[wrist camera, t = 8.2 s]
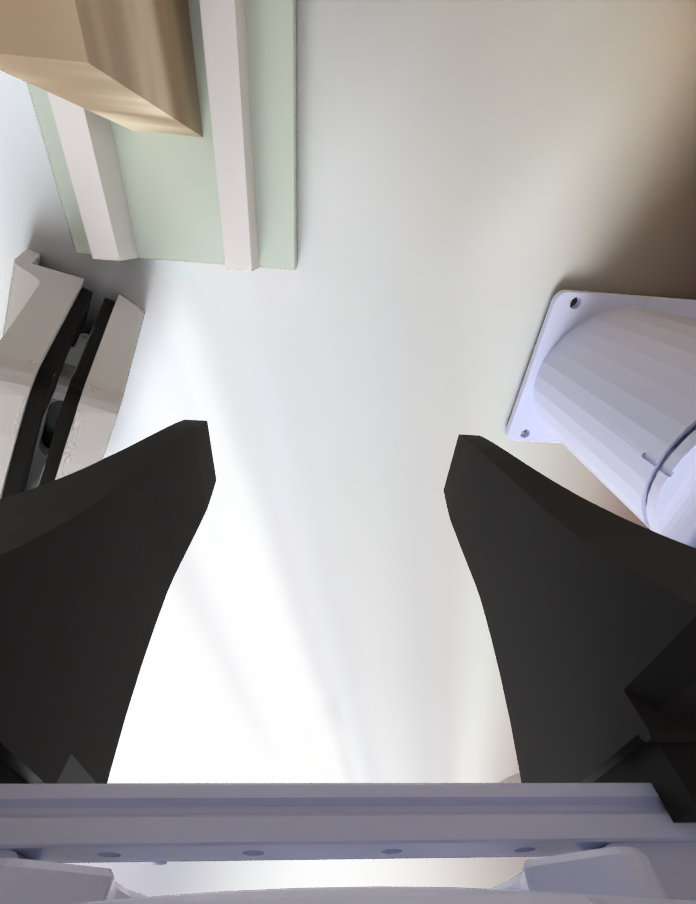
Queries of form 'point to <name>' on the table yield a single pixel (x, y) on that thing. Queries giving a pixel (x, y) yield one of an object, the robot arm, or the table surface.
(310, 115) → the table surface
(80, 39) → the door panel
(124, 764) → the table surface
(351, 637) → the table surface
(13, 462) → the hinge
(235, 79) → the track board
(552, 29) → the table surface
